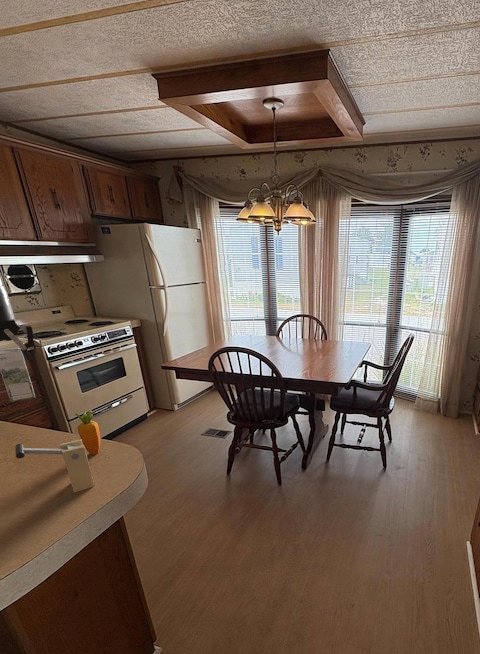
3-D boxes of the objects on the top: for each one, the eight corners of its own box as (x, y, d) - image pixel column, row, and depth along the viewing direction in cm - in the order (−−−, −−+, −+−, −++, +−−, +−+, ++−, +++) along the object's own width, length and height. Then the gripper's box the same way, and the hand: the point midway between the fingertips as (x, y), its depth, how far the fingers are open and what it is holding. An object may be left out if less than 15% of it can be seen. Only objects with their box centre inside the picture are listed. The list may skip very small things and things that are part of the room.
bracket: (67, 501, 83) (52, 456, 78) (63, 487, 88) (50, 444, 83) (104, 489, 88) (93, 446, 83) (99, 476, 93) (88, 435, 88)
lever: (14, 460, 75) (16, 450, 74) (14, 451, 78) (16, 441, 78) (81, 460, 83) (83, 451, 83) (78, 452, 87) (80, 443, 87)
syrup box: (33, 392, 106) (19, 346, 100) (36, 398, 102) (21, 350, 97) (8, 396, 102) (-8, 349, 97) (11, 402, 98) (-6, 353, 93)
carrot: (81, 460, 100) (68, 413, 94) (94, 451, 105) (83, 406, 99) (96, 462, 99) (84, 415, 94) (109, 453, 104) (98, 408, 98)
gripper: (25, 300, 99) (42, 357, 105) (-45, 302, 90) (-23, 364, 96) (27, 303, 93) (44, 362, 100) (-48, 306, 85) (-24, 371, 91)
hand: (11, 363), depth 98 cm, fingers closed on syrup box, 6 cm apart
